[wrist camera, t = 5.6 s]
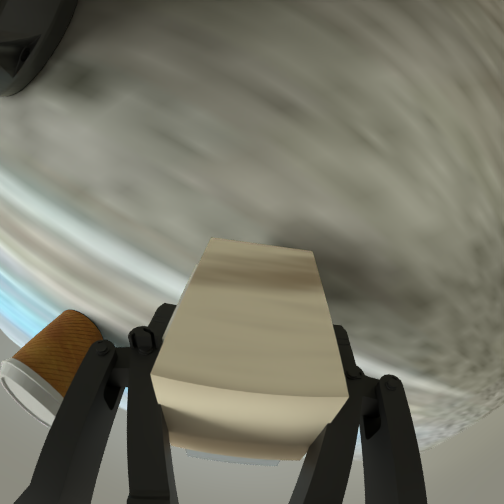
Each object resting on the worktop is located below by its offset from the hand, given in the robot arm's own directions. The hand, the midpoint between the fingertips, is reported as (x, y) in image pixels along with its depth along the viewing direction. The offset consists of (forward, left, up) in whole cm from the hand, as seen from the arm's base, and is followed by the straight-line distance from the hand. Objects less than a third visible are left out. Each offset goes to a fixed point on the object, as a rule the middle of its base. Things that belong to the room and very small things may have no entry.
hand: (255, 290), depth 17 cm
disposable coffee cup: (+12, -19, -4) cm, 23 cm away
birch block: (0, 0, 0) cm, 0 cm away
